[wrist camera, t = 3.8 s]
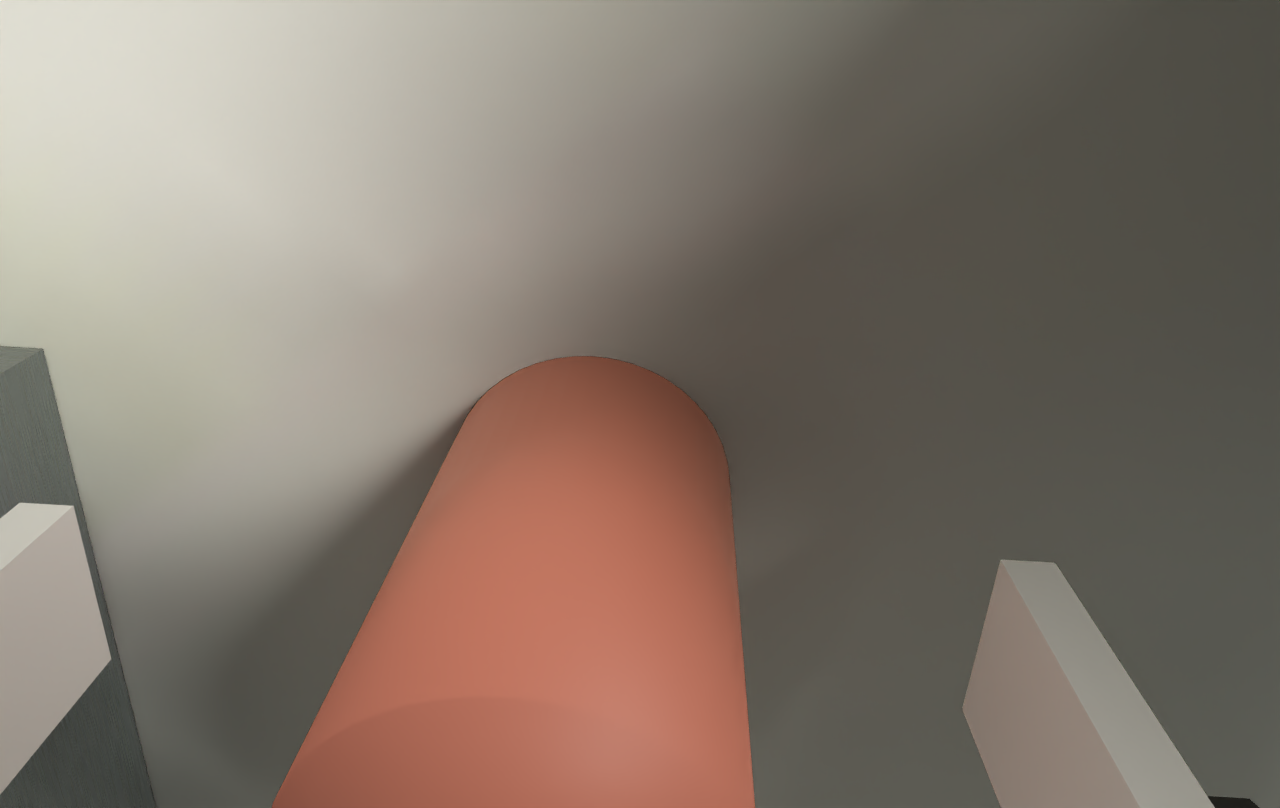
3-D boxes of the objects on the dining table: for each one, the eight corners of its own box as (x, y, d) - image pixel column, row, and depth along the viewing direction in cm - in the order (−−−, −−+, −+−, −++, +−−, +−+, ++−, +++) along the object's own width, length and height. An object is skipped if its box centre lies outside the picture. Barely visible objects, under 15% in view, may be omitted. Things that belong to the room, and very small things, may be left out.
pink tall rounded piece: (445, 346, 15) (103, 874, 6) (742, 366, 15) (817, 931, 6) (456, 589, 18) (210, 1241, 9) (717, 607, 18) (746, 1288, 8)
